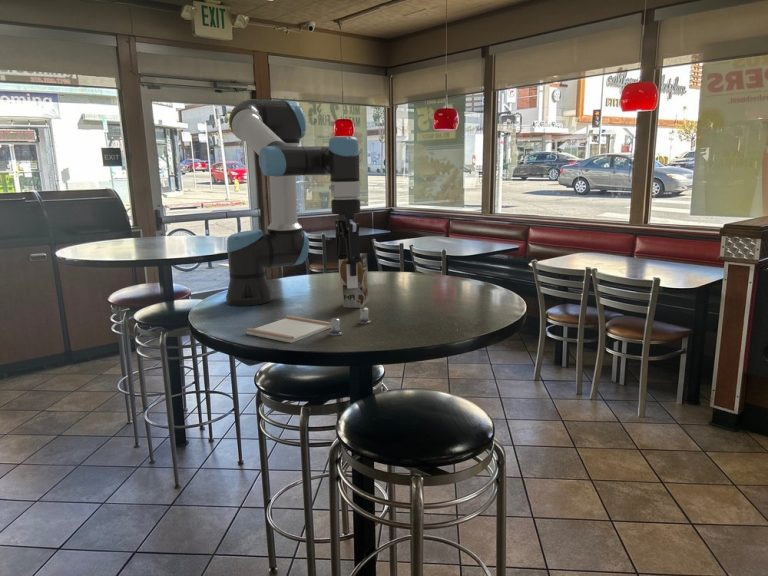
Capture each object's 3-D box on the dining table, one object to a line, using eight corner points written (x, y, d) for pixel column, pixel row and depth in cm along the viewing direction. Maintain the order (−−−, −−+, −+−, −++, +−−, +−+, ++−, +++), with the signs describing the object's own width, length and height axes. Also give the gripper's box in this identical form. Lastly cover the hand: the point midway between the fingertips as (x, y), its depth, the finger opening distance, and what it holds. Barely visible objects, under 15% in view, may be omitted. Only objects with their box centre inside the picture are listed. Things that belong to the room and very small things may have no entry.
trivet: (246, 333, 147) (246, 328, 147) (288, 320, 160) (288, 315, 160) (291, 342, 139) (291, 337, 138) (331, 327, 152) (331, 322, 151)
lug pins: (326, 334, 145) (325, 320, 144) (363, 320, 158) (362, 306, 158) (336, 336, 143) (336, 321, 142) (373, 321, 156) (372, 308, 156)
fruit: (365, 282, 152) (363, 254, 150) (362, 288, 146) (361, 258, 144) (342, 283, 152) (341, 254, 150) (339, 288, 146) (337, 258, 144)
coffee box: (362, 308, 172) (361, 257, 169) (342, 307, 174) (340, 256, 170) (369, 301, 181) (367, 252, 178) (350, 301, 183) (348, 252, 179)
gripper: (321, 197, 151) (325, 280, 156) (342, 200, 133) (345, 293, 138) (348, 196, 154) (350, 277, 158) (371, 199, 136) (374, 291, 141)
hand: (348, 285), depth 148 cm, fingers closed on fruit, 6 cm apart
